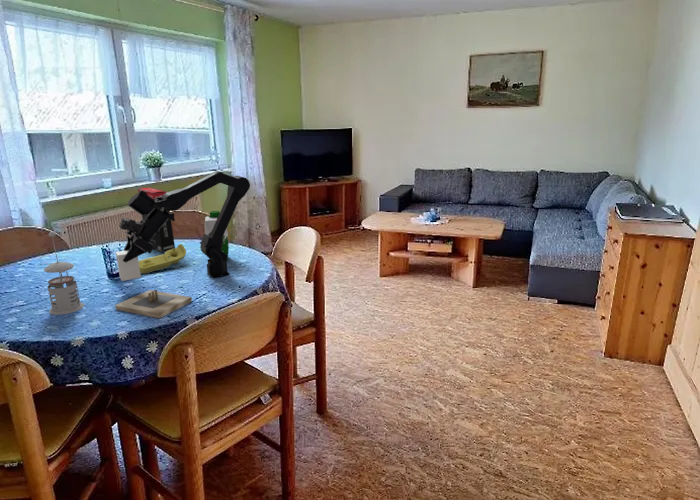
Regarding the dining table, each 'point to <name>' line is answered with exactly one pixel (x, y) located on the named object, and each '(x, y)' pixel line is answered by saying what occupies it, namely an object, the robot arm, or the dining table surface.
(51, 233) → the french press
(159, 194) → the graphics card box
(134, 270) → the block
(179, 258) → the plastic component
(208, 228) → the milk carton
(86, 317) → the dining table surface
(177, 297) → the board
